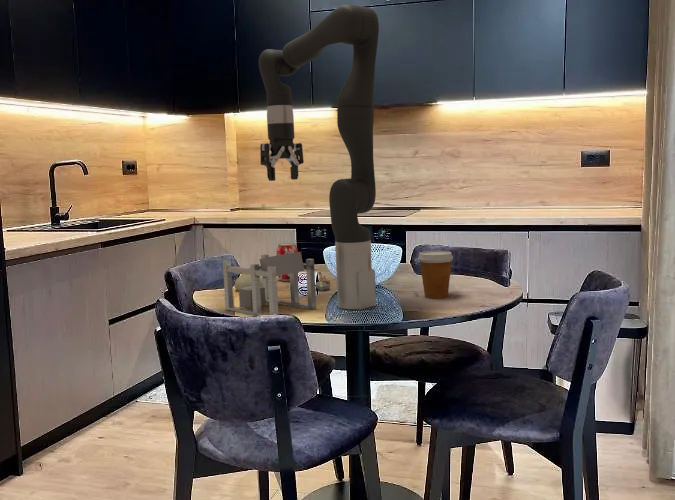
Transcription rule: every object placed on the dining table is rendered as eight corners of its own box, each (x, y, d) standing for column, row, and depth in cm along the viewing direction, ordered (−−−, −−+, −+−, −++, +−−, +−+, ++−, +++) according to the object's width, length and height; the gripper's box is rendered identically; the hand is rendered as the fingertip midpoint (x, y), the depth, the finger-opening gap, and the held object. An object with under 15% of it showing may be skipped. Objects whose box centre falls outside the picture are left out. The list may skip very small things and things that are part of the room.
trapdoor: (304, 270, 175) (300, 251, 175) (273, 276, 167) (269, 256, 167) (267, 278, 185) (264, 260, 186) (236, 284, 178) (233, 265, 178)
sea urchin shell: (268, 280, 212) (263, 265, 206) (265, 301, 207) (260, 286, 201) (239, 280, 213) (234, 265, 207) (236, 301, 208) (230, 287, 202)
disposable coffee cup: (440, 301, 179) (439, 256, 178) (411, 297, 186) (410, 253, 184) (460, 295, 186) (460, 251, 184) (432, 291, 192) (431, 249, 191)
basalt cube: (264, 287, 182) (253, 285, 186) (250, 290, 179) (238, 288, 182) (265, 305, 183) (254, 303, 187) (251, 309, 180) (239, 306, 183)
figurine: (317, 287, 205) (316, 268, 204) (331, 287, 205) (331, 268, 203) (314, 293, 200) (313, 274, 199) (328, 293, 200) (328, 274, 198)
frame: (316, 308, 176) (314, 259, 175) (274, 319, 166) (271, 266, 164) (267, 300, 190) (265, 254, 188) (225, 309, 179) (222, 261, 178)
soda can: (303, 278, 223) (301, 242, 221) (291, 282, 217) (289, 245, 215) (285, 277, 226) (284, 242, 225) (273, 281, 220) (271, 244, 219)
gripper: (269, 121, 184) (273, 181, 186) (307, 122, 194) (310, 178, 196) (252, 123, 189) (255, 181, 191) (290, 123, 199) (293, 179, 201)
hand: (283, 180), depth 194 cm, fingers open, 8 cm apart
